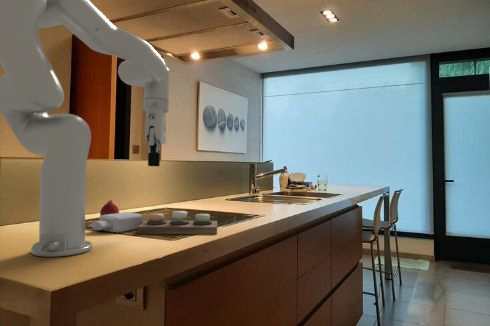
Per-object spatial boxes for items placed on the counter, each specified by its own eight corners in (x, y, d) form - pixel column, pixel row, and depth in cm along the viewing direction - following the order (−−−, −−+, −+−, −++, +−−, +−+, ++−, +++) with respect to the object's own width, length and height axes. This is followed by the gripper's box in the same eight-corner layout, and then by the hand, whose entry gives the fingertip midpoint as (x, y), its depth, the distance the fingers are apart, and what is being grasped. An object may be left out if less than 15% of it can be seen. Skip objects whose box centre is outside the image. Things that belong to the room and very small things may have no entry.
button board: (216, 234, 107) (217, 224, 107) (136, 233, 106) (137, 224, 106) (217, 226, 119) (217, 218, 119) (145, 226, 118) (145, 218, 118)
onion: (112, 226, 117) (112, 201, 117) (96, 225, 119) (96, 200, 119) (122, 223, 123) (122, 199, 123) (106, 222, 124) (107, 198, 124)
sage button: (209, 221, 111) (209, 215, 111) (194, 221, 111) (194, 215, 111) (209, 219, 115) (210, 213, 115) (195, 219, 115) (195, 213, 115)
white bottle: (80, 233, 107) (124, 226, 119) (99, 237, 102) (142, 229, 114) (80, 216, 107) (124, 211, 119) (99, 220, 102) (142, 214, 114)
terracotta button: (162, 221, 110) (162, 215, 110) (147, 221, 110) (147, 215, 110) (164, 219, 114) (165, 213, 114) (150, 219, 114) (150, 213, 114)
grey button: (186, 218, 110) (186, 212, 110) (171, 218, 110) (171, 212, 110) (187, 216, 115) (187, 211, 115) (173, 216, 114) (173, 210, 114)
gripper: (164, 102, 105) (162, 166, 104) (171, 110, 120) (169, 167, 119) (137, 101, 104) (135, 165, 104) (148, 110, 119) (146, 166, 119)
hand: (153, 166), depth 112 cm, fingers closed
